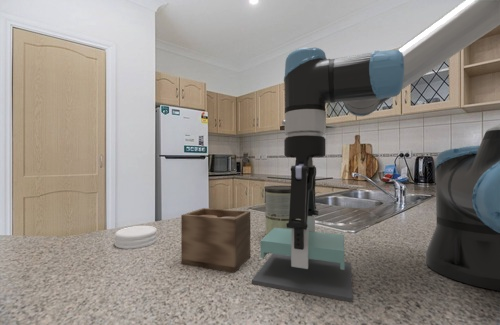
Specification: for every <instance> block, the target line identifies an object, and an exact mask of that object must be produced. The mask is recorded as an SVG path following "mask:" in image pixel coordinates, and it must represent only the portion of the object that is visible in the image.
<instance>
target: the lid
mask: <svg viewBox="0 0 500 325" xmlns="http://www.w3.org/2000/svg"><path fill="white" fill-rule="evenodd" d="M265 235H266V234H265ZM268 254H271V255H272V254H279V255H287V256H291V229H282V228H274V229H273V230H272V231H270V232H269V233H268V234H267V235H266V236H264V237H263V238H262V239H261V240H260V258H261V259H262V258H263V259H264V258H265V257H267V255H268ZM308 259H315V260H322V261H330V262H337V263H340V269H342V270H344V262H345V234H343V233H342V234H341V233H331V232H330V233H329V232H320V231H315V232H312V231H308Z"/></svg>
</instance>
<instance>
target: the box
mask: <svg viewBox="0 0 500 325" xmlns="http://www.w3.org/2000/svg"><path fill="white" fill-rule="evenodd" d="M180 217H181V218H180V219H181V220H180V221H181V225H180V228H181V234H180V235H181V238H180V239H181V247H180V248H181V250H180V251H181V253H180V254H181V257H180V258H181V263H180V264H182V265H187V266H193V267H198V268H199V267H200V268H205V269H209V270H216V271H222V272H228V273H236V272H237V271H238V270H239V269H240V268H241V267H242V266H243V265H244V264H245V263H246V262H247V261H248V260H249V259H250V258H251V211H248V210H237V209H236V210H235V209H219V208H208V207H207V208H206V207H203V208H199V209H196V210H192V211H190V212H187V213H184V214H181V216H180Z"/></svg>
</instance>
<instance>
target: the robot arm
mask: <svg viewBox="0 0 500 325" xmlns="http://www.w3.org/2000/svg"><path fill="white" fill-rule="evenodd" d="M499 26H500V0H463V1H461V2H459V4H457V5H455V7H453V8H452V9H450V10H449V11H448V12H446V13H444V15H442V16H441V17H439V18H438V19H436V20H435V21H433V22H432V23H431V24H430V25H428V26H427V27H425V28H424V29H422V30H420V32H419V33H417V34H416V35H414V36H413V37H411V39H409V40H407V41H406V42H405V43H404V44H402V45H401V46H399V47H398V48H396V49H390V50H374V51H373V52H366V53H361V54H357V55H356V54H355V55H349V56H344V57H338V58H327V57H326V53H325V51H324V50H323V49H321V48H318V47H308V46H306V47H300V48H298V49H295V50H293V51H292V52H291V53H289V54H288V55H287V56H286V59H285V64H284V65H285V66H284V67H285V68H284V77H283V82H284V85H283V86H284V118H285V119H282V120H281V125H283V126H284V134H285V136H287V137H285V138H284V139H283V140H284V141H283V142H284V148H283V149H284V151H283V152H284V157H286V158H294V159H295V165H291V166H290V186H291V193H290V211H289V222H288V223H287V224H286V226H287V228H291V267H298V268H304V269H308V231H312V232H316V216H319V210H317V206H316V203H317V202H316V184H317V182H316V176H317V166H316V165H314V164H313V162H314V161H313V158H324V157H325V156H326V146H327V145H326V144H327V143H326V142H327V140H326V137H324V136H323V135H325V134H326V133H327V111H326V110H327V109H326V107H327V106H326V105H327V104H328V103H330V104H333V103H343V105H344V107H345V109H346V110H347V111H348V113H350V114H351V115H353V116H355V117H366V116H369V115H371V114H372V113H373V112H375V111H376V110H377V109H378V108H379V106H380V105H382V104H383V103H384V102H387V101H388V100H390V99H391V98H394V97H398V95H400V94H401V92H402V90H404V89H406V88H407V87H408V86H409V85H411V84H413V83H414V82H416V81H417V80H419V79H421V78H422V77H423V76H425V75H427V74H428V73H429V72H431V71H432V70H434V69H435V68H437V67H438V66H441V65H442V64H443V63H445V62H446V61H447V60H449V59H451V58H452V57H453V56H455V55H457V54H458V53H460V52H462V50H464V49H465V48H467V47H469V46H470V45H471V44H473V43H474V42H476V41H478V40H480V39H481V38H482V37H484V36H485V35H486V34H488V33H490V32H492V31H493V30H494V29H496V28H497V27H499ZM434 170H435V193H436V195H435V197H436V201H435V204H436V205H435V207H436V210H435V213H436V226H435V229H434V232H433V234H432V237H431V239H430V242H429V243H428V246H427V249H426V252H425V263H426V265H427V267H429V268H430V269H431V270H433V271H434V272H436V273H438V274H439V275H442V276H444V277H447V278H449V279H452V280H454V281H457V282H459V283H460V282H461V283H463V284H467V285H471V286H474V287H478V288H482V289H483V288H484V289H488V290H493V291H499V292H500V123H499V124H496V125H495V126H493V127H491V128H490V127H489V128H488V129H486V131H485V133H484V135H483V138H482V140H481V142H480V145H474V146H473V145H472V146H463V147H458V148H456V147H455V148H450V149H447V150H444V151H441V152H440V153H438V155H437V156H436V164H435V167H434ZM296 219H301V220H296Z"/></svg>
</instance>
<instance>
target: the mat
mask: <svg viewBox="0 0 500 325" xmlns="http://www.w3.org/2000/svg"><path fill="white" fill-rule="evenodd" d="M352 282H353V280H352V269H351V262H350V261H349V262H348V261H344V270H342V269H340V263H337V262H330V261H322V260H315V259H308V269H304V268H298V267H291V256H287V255H279V254H272V253H271V255H270V256H269V257H268V259H267V260H265V263H263V265H262V267H260V269H259V271H257V272H256V274H255V275H254V276H253V278H252V279H251V284H252V285H256V286H257V285H258V286H263V287H267V288H268V287H269V288H275V289H278V290H279V289H280V290H283V291H285V290H286V291H290V292H296V293H302V294H306V295H311V296H316V297H323V298H327V299H328V298H329V299H332V300H339V301H343V302H349V303H354V297H353V296H354V295H353V283H352Z"/></svg>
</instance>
